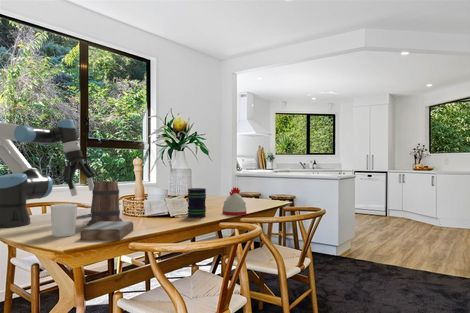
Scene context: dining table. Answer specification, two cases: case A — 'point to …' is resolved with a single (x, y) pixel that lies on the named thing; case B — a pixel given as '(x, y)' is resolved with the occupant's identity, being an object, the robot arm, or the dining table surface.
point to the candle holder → (63, 219)
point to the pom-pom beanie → (234, 204)
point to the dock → (106, 230)
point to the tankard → (105, 202)
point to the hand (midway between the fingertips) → (83, 193)
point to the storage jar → (196, 202)
